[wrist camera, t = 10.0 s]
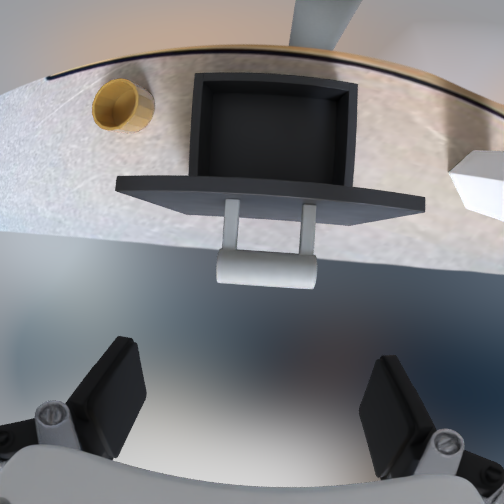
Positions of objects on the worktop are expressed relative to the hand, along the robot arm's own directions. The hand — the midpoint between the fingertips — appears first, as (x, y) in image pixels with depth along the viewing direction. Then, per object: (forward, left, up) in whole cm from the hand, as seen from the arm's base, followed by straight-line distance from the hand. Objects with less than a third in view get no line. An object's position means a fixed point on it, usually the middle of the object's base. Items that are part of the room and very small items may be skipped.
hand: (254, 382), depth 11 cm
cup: (-8, -21, -26) cm, 34 cm away
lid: (-5, -2, -12) cm, 13 cm away
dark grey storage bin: (-9, -3, -26) cm, 28 cm away
